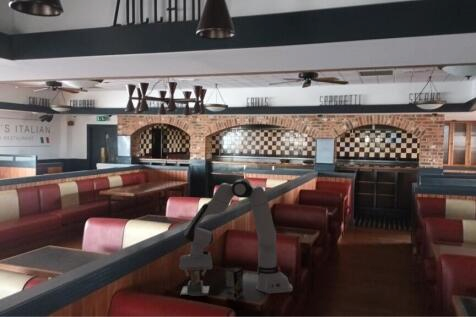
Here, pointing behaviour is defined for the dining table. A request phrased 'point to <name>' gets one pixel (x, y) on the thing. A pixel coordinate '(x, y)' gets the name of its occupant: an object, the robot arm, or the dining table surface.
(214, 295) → the dining table surface
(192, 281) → the beech pin
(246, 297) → the dining table surface
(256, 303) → the dining table surface
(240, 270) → the coffee box
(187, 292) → the socket plate
